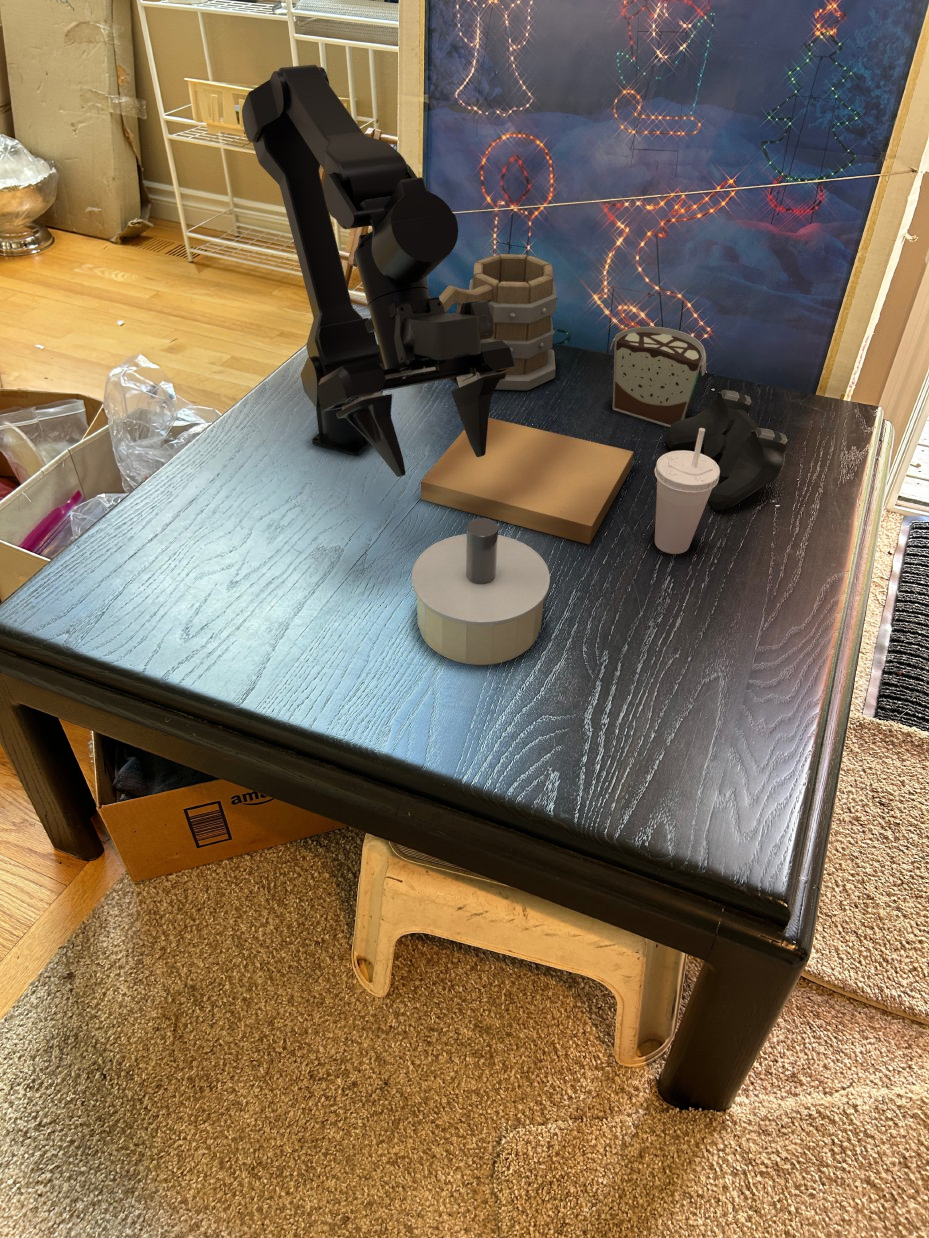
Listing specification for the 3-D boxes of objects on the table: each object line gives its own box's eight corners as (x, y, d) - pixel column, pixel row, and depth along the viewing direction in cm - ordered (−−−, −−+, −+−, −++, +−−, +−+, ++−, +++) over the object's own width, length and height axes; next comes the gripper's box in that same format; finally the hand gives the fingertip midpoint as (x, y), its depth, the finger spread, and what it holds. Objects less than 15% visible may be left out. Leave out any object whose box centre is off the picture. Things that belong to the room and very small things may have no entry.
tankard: (508, 339, 132) (513, 235, 122) (572, 370, 125) (583, 262, 115) (404, 384, 122) (400, 274, 112) (468, 420, 115) (470, 306, 105)
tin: (397, 642, 85) (395, 599, 81) (449, 570, 93) (449, 528, 89) (513, 680, 82) (516, 637, 78) (557, 601, 90) (561, 559, 86)
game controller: (756, 529, 103) (814, 458, 98) (713, 513, 100) (770, 439, 95) (697, 454, 115) (747, 387, 110) (657, 437, 112) (706, 367, 106)
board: (420, 499, 102) (420, 481, 100) (476, 432, 113) (476, 414, 111) (589, 544, 96) (591, 526, 95) (630, 469, 107) (633, 451, 106)
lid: (388, 606, 82) (384, 549, 77) (446, 529, 90) (446, 473, 86) (519, 647, 78) (524, 589, 73) (567, 562, 87) (574, 506, 82)
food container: (708, 413, 117) (724, 340, 110) (690, 434, 113) (706, 360, 107) (622, 387, 122) (632, 316, 115) (602, 406, 118) (611, 334, 111)
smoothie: (701, 565, 94) (730, 450, 85) (640, 557, 95) (661, 442, 85) (702, 529, 99) (729, 416, 89) (643, 521, 100) (664, 408, 90)
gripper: (348, 278, 71) (401, 472, 73) (529, 259, 81) (571, 431, 83) (293, 320, 80) (341, 492, 82) (461, 299, 90) (500, 452, 92)
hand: (442, 466), depth 85 cm, fingers open, 9 cm apart
